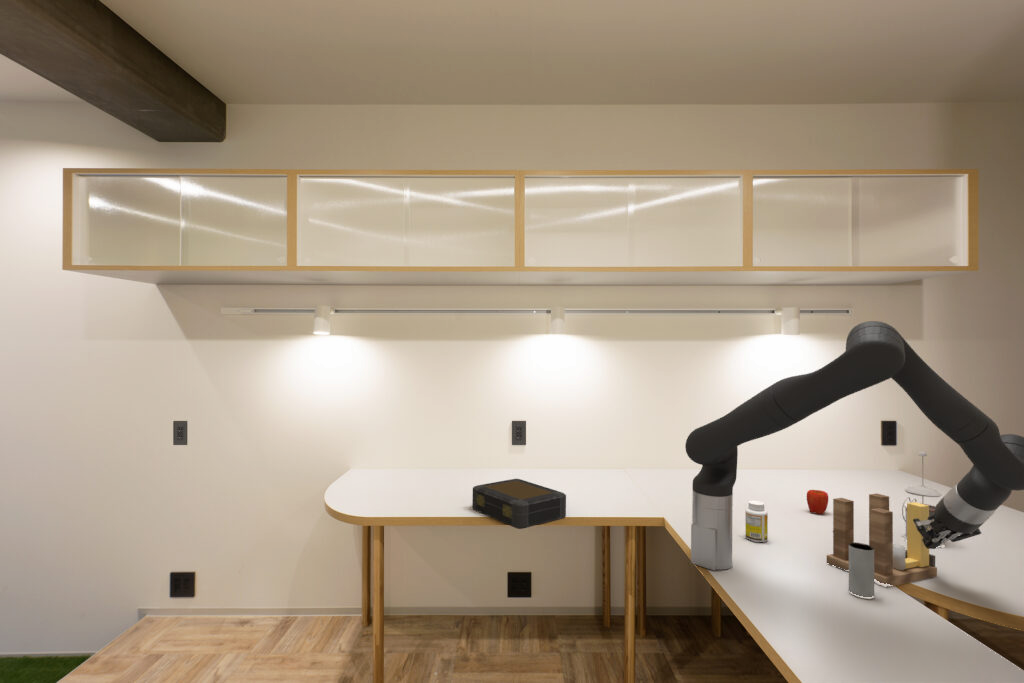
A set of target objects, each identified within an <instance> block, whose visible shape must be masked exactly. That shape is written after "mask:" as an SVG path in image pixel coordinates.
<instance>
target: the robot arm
mask: <svg viewBox="0 0 1024 683" xmlns="http://www.w3.org/2000/svg"><path fill="white" fill-rule="evenodd" d="M890 379H892V380H893V381H894V382H895V383H896V384H897V385H898V386H899V387H900V388H901V389H903V391H904V392H905V393H906V395H908V396H909V398H910V399H911V400H912V402H914V404H915V405H916V406H917V407H918V409H919V410H920V411H921V413H922V414H924V415H925V417H927V419H928V420H929V421H930V422H931V423H932V424H933V425H934V426H935V427H937V429H938V430H940V431H941V432H943V433H944V435H945V436H947V437H948V438H950V440H952V441H954V443H956V444H957V445H959V447H960V448H961V450H962V451H963V453H964V454H965V455H966V457H967V458H968V460H970V462H971V463H972V464H973V465H972V467H971V468H970V470H969V471H968V472H967V473H966V474H965V475H964V476H963V477H962V478H961V479H960V481H959V482H958V483H957V484H955V485H954V486H952V487H951V488H950V489H949V490H948V491H947V492H946V493H945V495H944V496H943V497H942V498H941V499H940V500H939V501H938V502H937V504H936V505H935V512H934V514H933V515H931V516H929V517H928V518H927V520H924V521H923V520H921V521H920V520H919V519H913V521H914V524H915V526H916V528H917V530H918V531H919V533H920V534H921V535H922V536H923V539H922V541H923V543H924V545H925V546H926V548H927V549H929V550H936V549H937V548H936V547H938V546H940V545H941V544H942V543H944V544H945V543H947V542H948V541H951V542H952V543H955V542H959V541H962V540H966V539H969V538H973V537H975V536H979V535H981V534H982V532H981V530H980V527H982V526H983V524H985V523H986V522H987V521H988V520H989V519H990V518H991V517H993V515H994V514H995V512H996V511H997V509H999V508H1000V507H1001V506H1002V505H1003V503H1004V502H1006V500H1008V499H1009V497H1010V495H1011V494H1012V491H1024V436H1021V435H1018V434H1013V433H1012V434H1011V433H1005V434H1001V432H1000V429H999V427H998V425H997V423H996V421H994V420H993V419H992V418H991V417H989V416H988V415H987V414H986V413H984V412H983V411H981V409H979V408H978V407H977V406H976V405H974V404H973V403H972V402H971V401H969V400H968V399H967V397H964V396H963V395H962V394H961V393H960V392H958V391H957V390H956V389H955V388H953V387H952V385H950V384H949V383H948V382H946V380H944V379H943V378H942V377H941V376H940V375H939V374H938V373H937V372H936V371H935V370H934V369H933V368H932V367H930V366H929V365H928V364H927V363H926V361H925V360H923V359H922V357H920V355H918V353H917V352H916V351H915V349H913V348H912V347H911V345H910V344H909V343H908V342H907V341H906V339H905V338H904V337H903V336H902V335H901V333H899V331H898V330H897V329H896V328H895V327H894V326H892V325H890V324H888V323H886V322H883V321H880V320H879V321H878V320H877V321H876V320H870V321H869V320H868V321H864V322H861V323H859V324H857V325H855V326H853V328H852V329H851V330H850V331H849V333H848V334H847V337H846V341H845V351H844V352H842V354H840V355H838V357H837V358H835V359H834V360H832V361H830V362H829V363H827V364H826V365H824V366H822V367H821V368H819V369H816V370H814V371H812V372H809V373H805V374H799V375H794V376H789V377H786V378H785V377H784V378H782V379H780V380H778V381H776V382H774V383H772V384H771V385H769V386H767V387H766V388H764V389H763V390H761V391H760V392H758V393H757V394H755V395H753V396H752V397H751V398H749V399H748V400H746V401H744V402H743V403H741V404H740V405H738V406H737V407H735V408H733V409H732V410H731V411H730V412H728V413H727V414H725V415H723V416H722V417H720V418H717V419H715V420H713V421H711V422H709V423H707V424H704V425H702V426H699V427H697V428H695V429H694V430H692V431H691V432H690V433H689V435H688V436H687V438H686V441H685V444H684V445H685V452H686V454H687V457H688V458H689V459H690V460H691V461H692V462H694V463H695V464H698V465H702V467H701V469H700V471H699V472H698V473H697V475H695V476H694V477H693V480H692V502H691V503H692V506H691V508H692V509H691V510H692V511H691V512H692V513H691V520H692V521H691V526H690V531H691V532H690V563H691V564H694V565H697V566H699V567H701V568H705V569H708V570H712V571H719V570H720V571H721V570H729V569H730V568H732V566H733V506H734V503H733V500H734V499H733V498H734V497H733V495H734V492H733V491H734V489H733V488H734V486H735V484H736V481H737V474H738V473H737V472H738V470H737V469H738V457H739V456H738V452H739V451H738V446H741V445H742V444H744V443H747V442H751V441H754V440H758V439H760V438H763V437H767V436H769V435H772V434H776V433H778V432H780V431H782V430H785V429H788V428H789V427H791V426H793V425H796V424H797V423H798V422H800V421H801V422H802V420H804V419H807V418H808V417H810V416H811V415H813V414H815V413H817V412H819V411H821V410H824V409H825V408H827V407H828V406H831V405H832V404H834V403H836V402H838V401H839V400H842V399H843V398H845V397H846V398H847V397H848V396H851V395H854V394H855V393H858V392H860V391H863V390H866V389H868V388H870V387H871V388H872V387H873V386H876V385H879V384H880V383H882V382H885V381H887V380H890ZM929 526H930V528H929V530H927V529H928V527H929Z"/></svg>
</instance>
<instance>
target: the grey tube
mask: <svg viewBox="0 0 1024 683" xmlns="http://www.w3.org/2000/svg"><path fill="white" fill-rule="evenodd" d="M849 591H850V592H852V593H853V594H856V595H859V596H863V597H872V596H874V597H875V583H874V548H873V547H872V546H870V545H869V544H867V543H863V542H855V541H854V542H853V543H849V572H848V592H849Z"/></svg>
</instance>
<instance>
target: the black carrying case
mask: <svg viewBox="0 0 1024 683" xmlns="http://www.w3.org/2000/svg"><path fill="white" fill-rule="evenodd" d="M472 510H473V511H476V512H478V513H479V514H483V515H485V516H487V517H489V518H491V519H494V520H496V521H498V522H501V523H503V524H506V525H507V526H510V527H512V528H515V529H518V530H523V529H526V528H530V527H534V526H539V525H542V524H546V523H549V522H554V521H557V520H561V519H565V518H566V516H567V515H566V514H567V494H565V493H564V492H562V491H558V490H556V489H552V488H549V487H547V486H543V485H540V484H536V483H533V482H530V481H527V480H524V479H520V478H512V479H511V478H510V479H506V480H501V481H495V482H489V483H482V484H478V485H475V486H473V487H472Z"/></svg>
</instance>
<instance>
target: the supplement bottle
mask: <svg viewBox="0 0 1024 683" xmlns="http://www.w3.org/2000/svg"><path fill="white" fill-rule="evenodd" d="M765 508H766V507H765V503H764V502H762V501H759V500H749V501H748V507H746V509H745V512H744V513H745V538H746V539H747V540H748V539H749V540H748V541H750V540H751V541H750V542H753V541H755V542H754V543H759V542H763V543H766V542H767V541H768V536H769V535H768V534H769V533H768V529H769V528H768V522H769V521H768V520H769V519H768V511H767V510H766V509H765Z"/></svg>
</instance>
